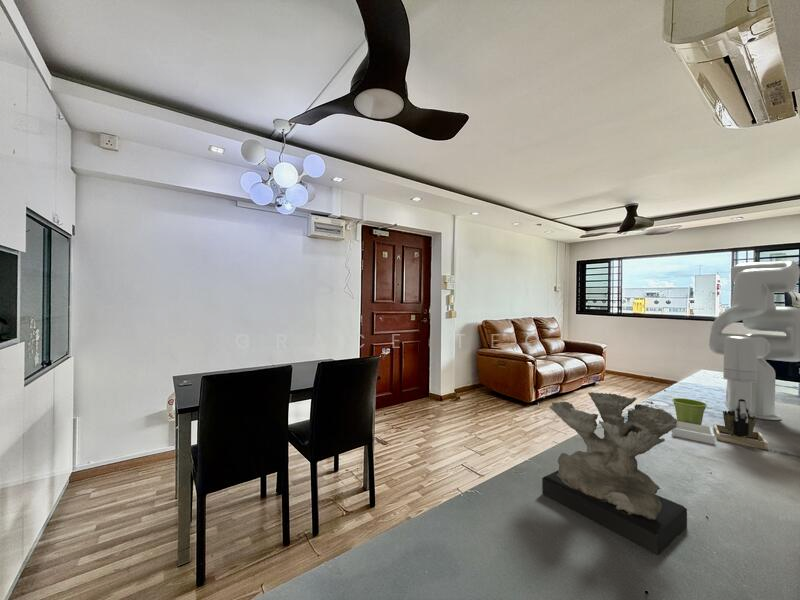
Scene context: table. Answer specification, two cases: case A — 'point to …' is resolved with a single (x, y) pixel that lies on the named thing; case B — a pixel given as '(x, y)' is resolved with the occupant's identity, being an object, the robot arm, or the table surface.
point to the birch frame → (740, 438)
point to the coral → (617, 472)
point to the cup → (729, 423)
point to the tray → (694, 432)
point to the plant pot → (689, 410)
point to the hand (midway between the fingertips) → (738, 430)
